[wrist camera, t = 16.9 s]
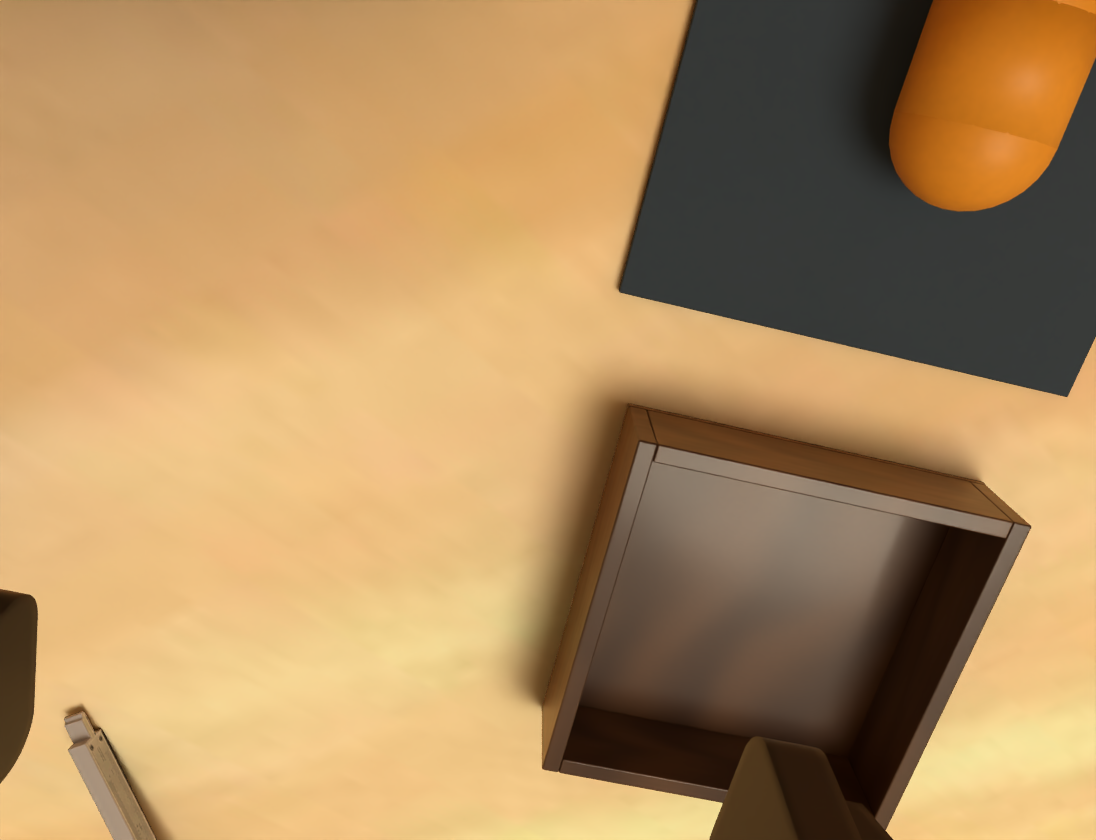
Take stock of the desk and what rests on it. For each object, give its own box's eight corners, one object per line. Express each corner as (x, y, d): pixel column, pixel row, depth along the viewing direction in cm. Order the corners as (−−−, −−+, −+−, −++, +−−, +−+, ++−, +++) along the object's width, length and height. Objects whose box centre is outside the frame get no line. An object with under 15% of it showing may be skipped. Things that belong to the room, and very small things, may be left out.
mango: (841, 182, 34) (916, 204, 29) (934, -92, 31) (1037, -121, 26) (964, 212, 36) (1057, 239, 30) (1067, -48, 32) (1190, -67, 27)
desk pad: (618, 290, 37) (619, 292, 36) (790, -351, 29) (793, -356, 29) (1062, 394, 38) (1067, 397, 38) (1332, -185, 31) (1342, -189, 30)
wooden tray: (541, 707, 44) (541, 770, 40) (628, 402, 38) (638, 440, 34) (854, 767, 45) (885, 833, 41) (982, 481, 40) (1032, 526, 36)
